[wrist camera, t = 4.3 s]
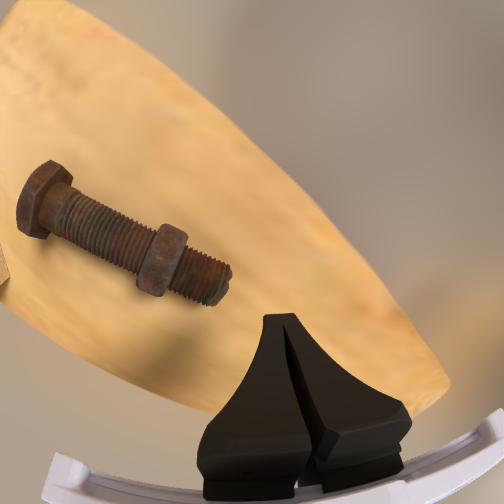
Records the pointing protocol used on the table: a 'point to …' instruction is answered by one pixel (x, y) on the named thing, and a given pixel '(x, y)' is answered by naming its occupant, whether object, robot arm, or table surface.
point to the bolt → (118, 238)
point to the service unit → (3, 268)
